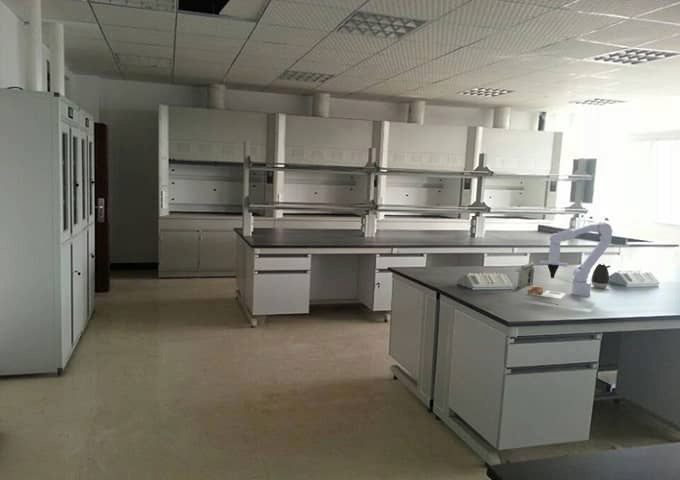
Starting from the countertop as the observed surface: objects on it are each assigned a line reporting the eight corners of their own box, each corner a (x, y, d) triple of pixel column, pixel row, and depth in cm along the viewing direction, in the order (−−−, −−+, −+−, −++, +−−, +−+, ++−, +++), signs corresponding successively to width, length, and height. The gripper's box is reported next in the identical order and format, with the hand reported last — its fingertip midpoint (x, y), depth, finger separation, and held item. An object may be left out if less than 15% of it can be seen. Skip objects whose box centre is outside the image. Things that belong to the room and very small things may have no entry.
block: (542, 293, 298) (543, 286, 297) (540, 295, 293) (541, 287, 293) (533, 292, 300) (534, 285, 300) (531, 293, 296) (532, 286, 296)
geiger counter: (526, 265, 316) (539, 261, 336) (515, 264, 319) (528, 260, 339) (524, 288, 317) (537, 283, 337) (513, 287, 321) (527, 281, 341)
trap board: (566, 295, 301) (566, 288, 301) (560, 301, 286) (561, 294, 285) (533, 291, 311) (533, 284, 310) (526, 296, 295) (526, 289, 295)
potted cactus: (612, 289, 325) (614, 265, 323) (595, 289, 325) (597, 264, 323) (604, 286, 335) (606, 262, 333) (587, 285, 335) (589, 261, 333)
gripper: (539, 253, 302) (537, 277, 304) (566, 256, 295) (564, 280, 296) (542, 252, 308) (540, 275, 310) (568, 255, 301) (566, 278, 302)
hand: (552, 278), depth 303 cm, fingers closed
